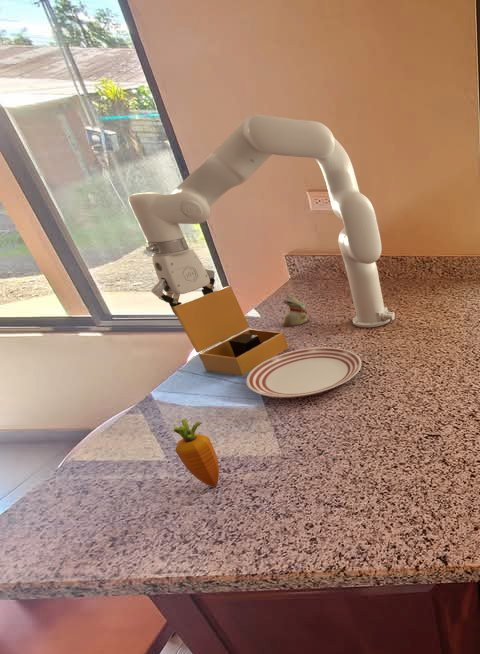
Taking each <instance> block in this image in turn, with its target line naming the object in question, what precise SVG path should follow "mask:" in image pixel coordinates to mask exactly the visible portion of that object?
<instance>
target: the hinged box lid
mask: <svg viewBox="0 0 480 654" xmlns="http://www.w3.org/2000/svg"><path fill="white" fill-rule="evenodd" d="M181 303H182V304H179V305H177V306H174V307H172V308H173V310H174V312H175V314H176V315H177V316H176V315H175V314H174V315H175V316H176V317H177V319H178V321H179V323H180V325H181V327H182V328H183V330H184V332H185V333H186V336H187V338H188V339H189V341H190V343H191V345H192V346H193V348H194V350H195V352H196V353H201V352H203V351H205V350H207V349H209V348H211V347H213V346H215V345H217V344H219V343H221V341H223V340H225V339H227V338H229V337H231V336H233V335H235V334H237V333H239V332H241V331H243V330H245V329H247V328H250V325H249V322H248V320H247V318H246V316H245V314H244V312H243V310H242V308H241V305H240V303H239V301H238V299H237V297H236V295H235V292H234V290H233V288H232V286H231V285H228V286H224V287H222V288H219V289H217V290H213V292H211V293H209V294H206V295H203V294H202V295H201V296H198V297H195V298H193V299H190V300H188V301H185V302H181ZM172 308H171V309H172ZM173 310H172V311H173ZM174 312H173V313H174Z"/></svg>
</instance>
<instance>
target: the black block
mask: <svg viewBox="0 0 480 654" xmlns="http://www.w3.org/2000/svg"><path fill="white" fill-rule="evenodd" d="M229 343H230V345H231V348H232V350H233V353H234V355H235V358H237V357H238V356H240V355H242V354H244V353H245V352H247V351H249V350H251V349H253V348H254V347H256V346H258V345H260V344H261V343H260V340H259V337H258V335H250V334H241V335H239V336H237V337H235V338H233V339H231V340H229Z"/></svg>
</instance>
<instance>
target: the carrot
mask: <svg viewBox="0 0 480 654" xmlns="http://www.w3.org/2000/svg"><path fill="white" fill-rule="evenodd" d="M181 424H182V425H179V427H178V426H175V427H173V430H172V431H173V432H175V434H178V435H180V437H181V439H179V440H178V441H177V443H176V446H175V453H176V454H177V456H178V457H179V459H180V461H181V462H182V464H183V466H184V467H185V468H186V469H187V470H188V472H189V473H191V475H192V476H193V477H194V478H196V480H198V481H199V482H202V484H205V485H207V486H209V487H214V488H215V487H216V486H217V485H218V483H219V477H220V465H219V460H218V456H217V452H216V451H215V448H214V445H213V443H212V441H211V439H210V438H209V437H208V436H207V435H204V434H200V433H196V431H197V428H198V427H199V426H200V425H201V424H202V422H200V421H197V422H195V423H194V424H193V425H192V427H191V428H190V427H189V422H188V420H187V418H184V419H181Z"/></svg>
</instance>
